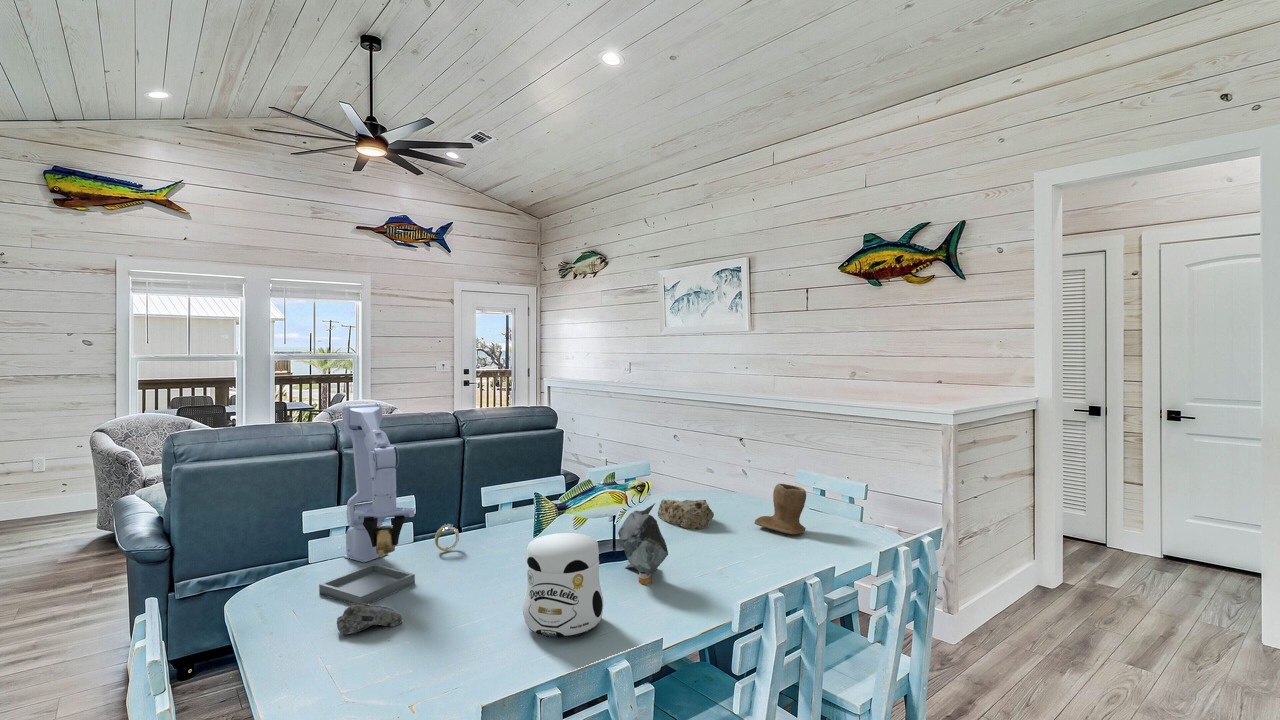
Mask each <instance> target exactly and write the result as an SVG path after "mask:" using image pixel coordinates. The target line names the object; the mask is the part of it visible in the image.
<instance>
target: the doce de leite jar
mask: <svg viewBox="0 0 1280 720" xmlns="http://www.w3.org/2000/svg"><path fill="white" fill-rule="evenodd" d="M599 552H600V550H599V542H598V541H597V540H596V539H595V538H594V537H592V536H590V535H588V534H583V533H578V532H577V533H575V532H574V533H573V532H560V533H552V534H551V533H550V534H547V535H546V534H545V535H542V536H539V537H536V538H534V539H533V540H531V541H530V542H529V543H528V545H527V548H526V556H525V557H526V558H525V559H526V560H525V561H526V588H525V589H526V590H525V593H524V597H523V600H522V612H523V613H522V614H523V619H524V623H525V624H526V627H527V628H528V629H529V630H530V631H532V632H533V633H535V634H536V635H539V636H542V637H544V638H545V637H546V638H549V639H550V638H553V639H563V638H566V639H567V638H574V637H577V636H581V635H585V634H587V633H588V632H590V631H592V630H593V629H594V628H596V626H597V625H599V623H600V621H601V619H602V617H603V611H604V596H603V592H602V588H601V585H600V560H599V558H600V557H599V555H600V553H599Z"/></svg>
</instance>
